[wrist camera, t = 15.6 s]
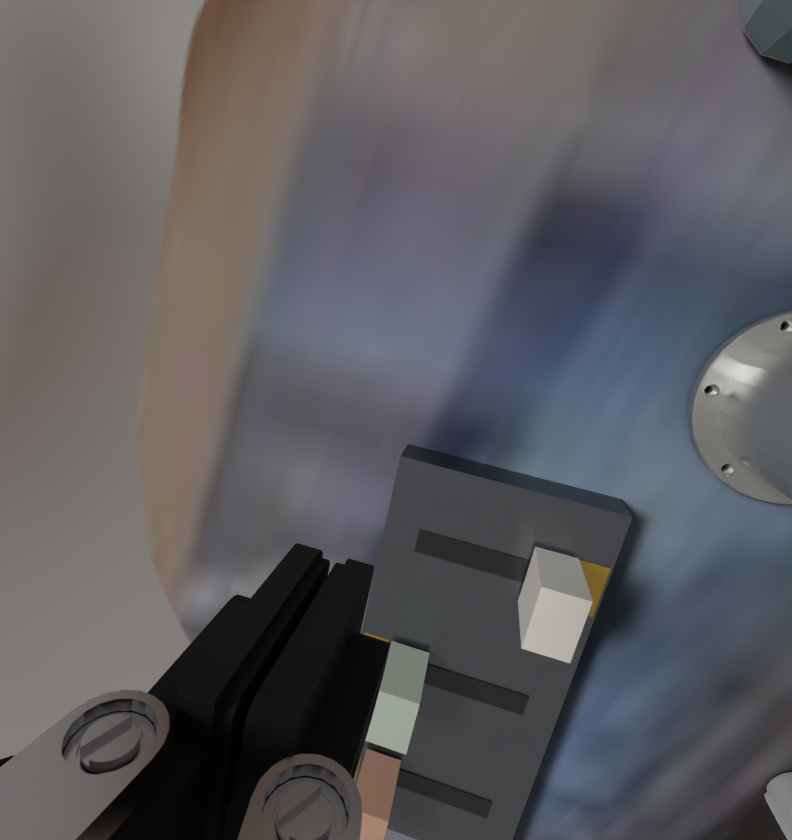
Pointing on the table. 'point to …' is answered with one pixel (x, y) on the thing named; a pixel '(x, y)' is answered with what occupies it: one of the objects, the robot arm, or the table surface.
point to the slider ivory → (553, 605)
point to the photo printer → (781, 801)
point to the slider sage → (398, 698)
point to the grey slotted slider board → (478, 633)
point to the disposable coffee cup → (769, 27)
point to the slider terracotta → (376, 793)
